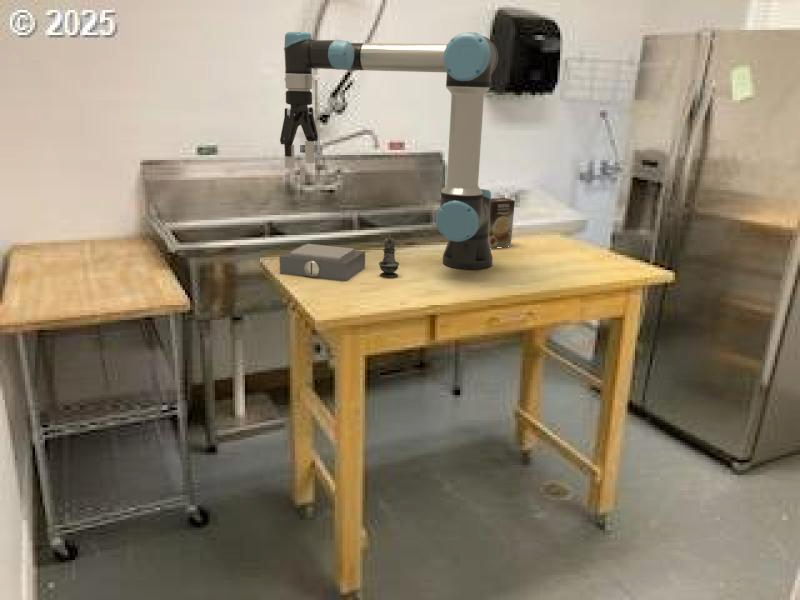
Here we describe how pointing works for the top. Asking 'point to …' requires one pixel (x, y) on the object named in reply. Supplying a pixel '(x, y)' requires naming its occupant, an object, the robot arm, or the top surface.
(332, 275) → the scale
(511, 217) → the coffee box
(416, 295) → the top surface
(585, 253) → the top surface
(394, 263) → the dark chess piece
